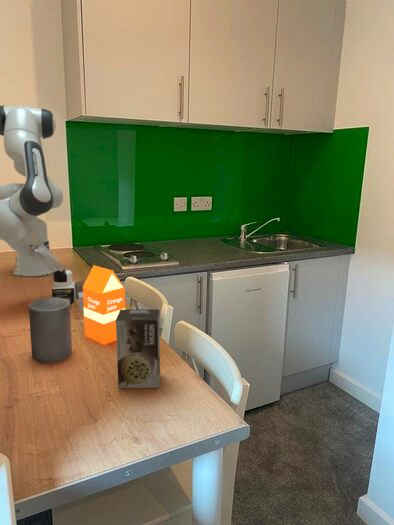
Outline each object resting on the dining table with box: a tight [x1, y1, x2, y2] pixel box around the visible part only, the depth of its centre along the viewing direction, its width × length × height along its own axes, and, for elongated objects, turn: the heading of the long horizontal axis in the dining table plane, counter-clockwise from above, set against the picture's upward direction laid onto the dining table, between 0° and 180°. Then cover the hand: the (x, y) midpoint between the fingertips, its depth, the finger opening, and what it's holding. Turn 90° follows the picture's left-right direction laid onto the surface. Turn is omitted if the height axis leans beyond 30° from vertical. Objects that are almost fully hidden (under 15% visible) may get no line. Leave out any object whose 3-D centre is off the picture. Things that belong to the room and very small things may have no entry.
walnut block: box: [74, 280, 86, 300], centre depth 144 cm, size 5×5×5 cm
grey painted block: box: [78, 292, 84, 312], centre depth 132 cm, size 5×5×5 cm
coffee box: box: [116, 308, 161, 389], centre depth 86 cm, size 9×6×16 cm
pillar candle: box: [28, 296, 73, 364], centre depth 98 cm, size 10×10×15 cm
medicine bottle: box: [51, 269, 77, 308], centre depth 134 cm, size 7×7×12 cm
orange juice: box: [83, 265, 126, 346], centre depth 109 cm, size 8×9×20 cm
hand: (62, 269), depth 133 cm, fingers closed, pressing on medicine bottle
